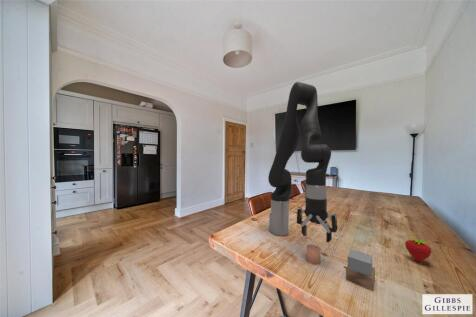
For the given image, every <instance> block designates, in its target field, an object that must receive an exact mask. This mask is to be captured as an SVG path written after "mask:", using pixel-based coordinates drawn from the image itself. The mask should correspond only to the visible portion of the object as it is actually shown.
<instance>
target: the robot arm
mask: <svg viewBox="0 0 476 317" xmlns="http://www.w3.org/2000/svg"><path fill="white" fill-rule="evenodd" d="M318 102H319V101H318V91H317V88H316V86H314V85H312V84H309V83H305V82H300V81H296V82H294V84H293V85H292V86H291V88H290V92H289V95H288V99H287V106H286V112H285V116H284V121H283V124H282V129H281V132H280V137H279V140H278V145H277V148H276V152H275V156H274V159H273V161H272V165H271V167H270V170H269V172H268V183H269V185H270V186H271V187H273V188H275V190H274V191H273V192H272V193H271V194H270V212H269V214H268V215H269V216H268V232H270V233H271V234H273V235H276V236H281V237H283V236H287V235H289V233H290V232H289V231H290V229H289V225H290V224H289V222H290V218H289V216H290V196H291V194H292V180H293V179H292V174H291V172H290V171H289V170H288V169H286V166H287V164H288V162H289V160H290V158H291V157H292V156H293V155H294V153H295V152H296V149H297V148H298V145H299V143H300V138H301V135H302V146H301V150H300V157H301V159H302V161H303V162H304V163H309V164H310V163H312V164H313V163H314V164H315V163H317V164H318V165H317V166H316V167H314V168H309V169H307V170H306V172H305V192H304V196H305V198H304V201H305V204H304V205H305V207H304V208H305V209H303V208H302V207H299V208H298V209H297V211H296V224H299V225H300V226H301V234H302V236H303V237H306V236H307V235H308V234H307V232H308V230H307V229H308V228H307V227H308V226H307V224H308V223H309V222H310V223H312V224H317V225H321V226H322V227H323V229H324V230H325V232H326V234H325V235H326V243H328V244H329V243H330V242H331V241H332V239H333V237H332V236H333V233H336V232H337V231H338V218H337V214H336V213H333V214H332V213H331V214H330V213H328V209H327V208H328V205H327V204H328V203H327V201H328V198H327V197H328V196H327V194H328V193H327V192H328V191H327V179H326V178H327V171H328V166H329V164H330V160H331V156H332V150H331V148H330V146H329V145H328V144H325V143H324V144H323V143H321V144H315V143H317V142H320V140H322V135H323V134H322V131H321V126H320V123H319V112H318V111H319V110H318V108H319V107H318V105H319V104H318ZM298 105H301V106H305V109H306V113H305V114H304V115H303V118H302V120H301V122H300V123H301V124H299V121H298V117H297V115H298V114H297V111H298ZM303 215H305V216H306V218H305V219H304V220H303ZM328 218H329V221H330V222H331V226H330V224H329V222H328V220H327V219H328Z"/></svg>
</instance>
